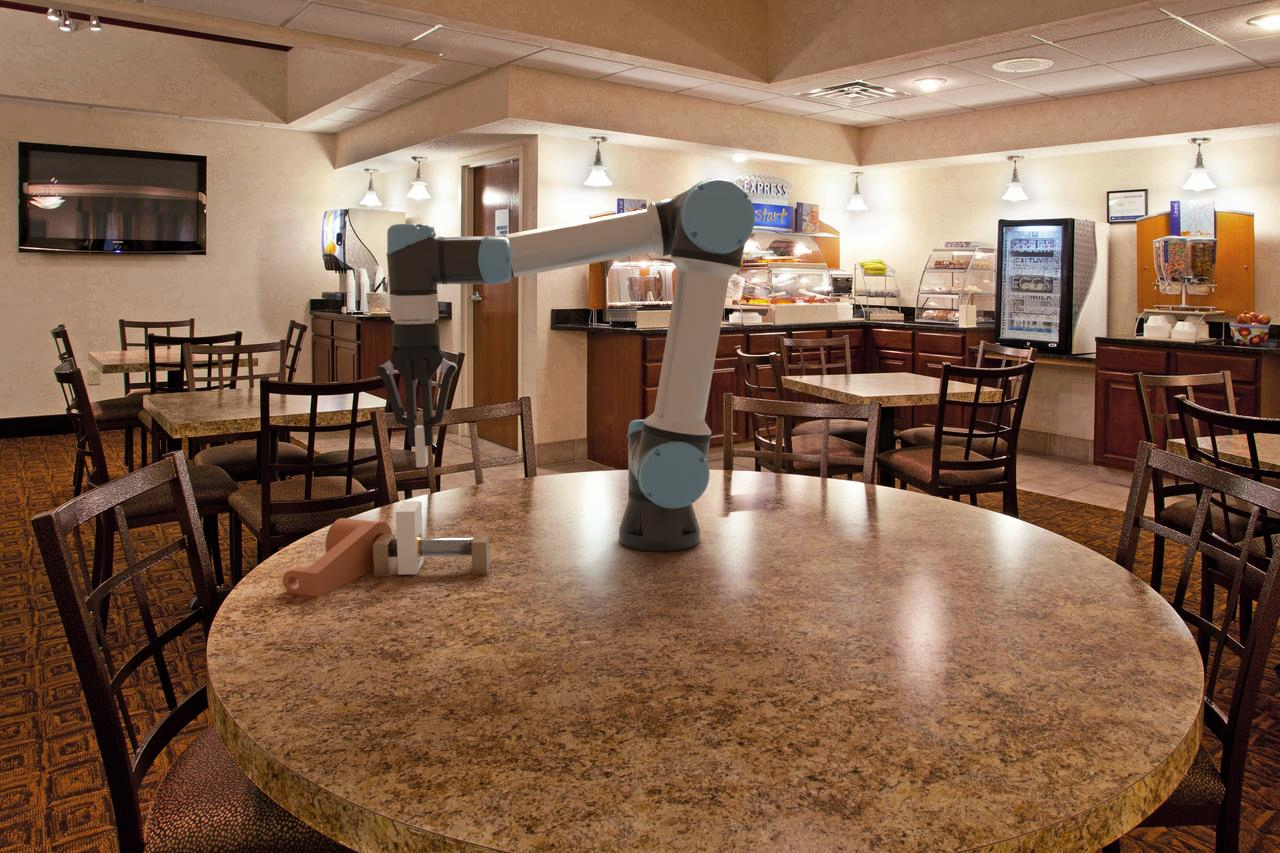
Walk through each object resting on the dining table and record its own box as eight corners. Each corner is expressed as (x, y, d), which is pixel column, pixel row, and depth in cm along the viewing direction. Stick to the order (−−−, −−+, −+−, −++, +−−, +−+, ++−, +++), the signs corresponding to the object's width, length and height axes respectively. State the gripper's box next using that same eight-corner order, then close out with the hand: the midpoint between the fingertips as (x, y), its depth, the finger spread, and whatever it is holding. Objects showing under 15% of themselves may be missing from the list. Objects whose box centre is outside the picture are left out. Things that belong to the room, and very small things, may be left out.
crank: (355, 556, 165) (353, 513, 164) (394, 561, 163) (392, 517, 161) (276, 592, 147) (273, 543, 145) (318, 598, 144) (315, 548, 143)
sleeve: (423, 561, 160) (421, 501, 158) (416, 574, 153) (414, 511, 151) (406, 561, 160) (403, 501, 158) (398, 574, 153) (395, 511, 151)
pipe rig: (490, 563, 160) (489, 531, 159) (487, 574, 154) (486, 541, 154) (381, 565, 159) (380, 533, 158) (374, 577, 153) (372, 543, 152)
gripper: (458, 320, 154) (464, 460, 158) (378, 321, 153) (386, 462, 157) (452, 322, 147) (459, 469, 151) (368, 323, 146) (377, 471, 150)
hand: (422, 465), depth 154 cm, fingers closed
